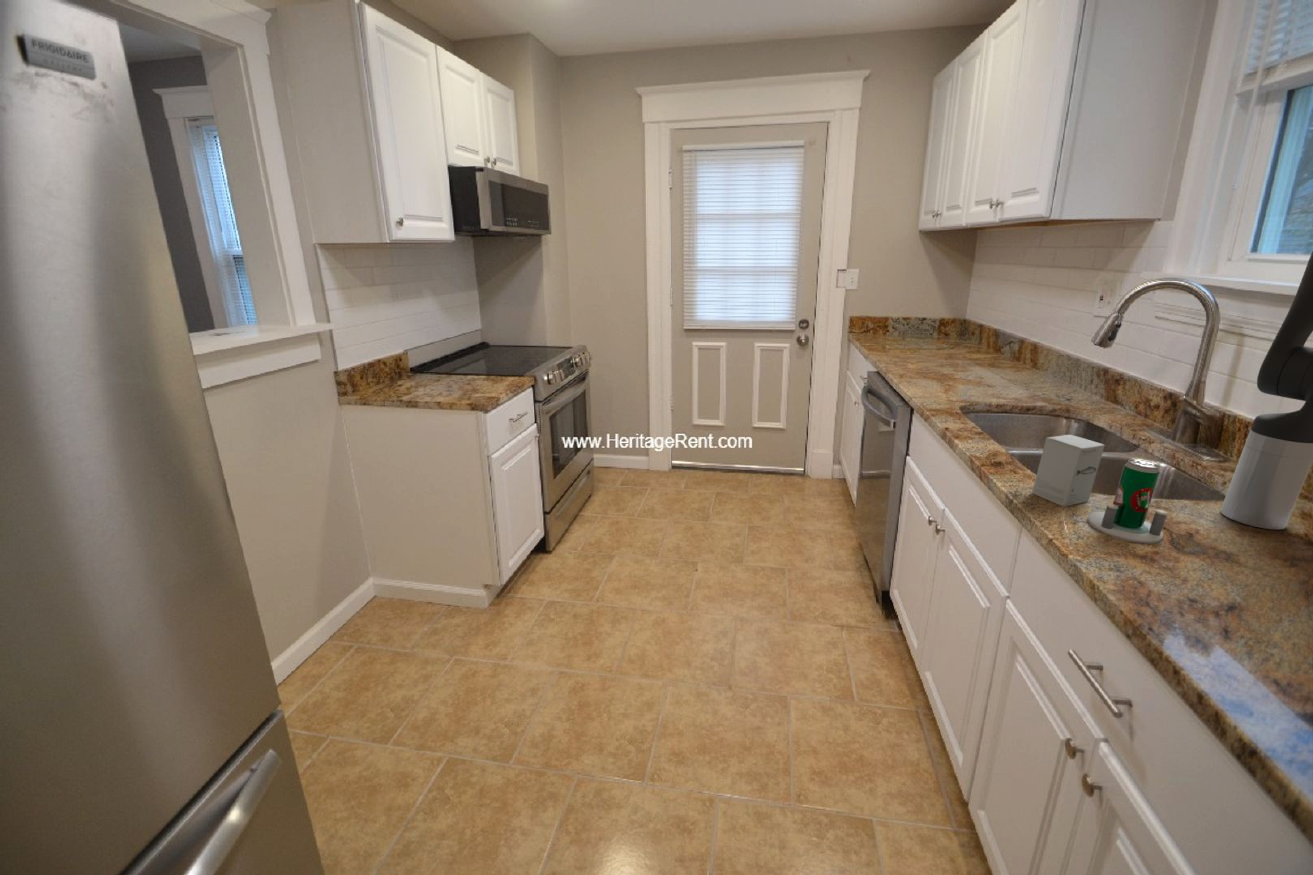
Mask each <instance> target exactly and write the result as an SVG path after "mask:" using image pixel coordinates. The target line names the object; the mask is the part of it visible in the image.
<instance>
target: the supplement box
mask: <svg viewBox="0 0 1313 875" xmlns="http://www.w3.org/2000/svg"><path fill="white" fill-rule="evenodd" d="M1104 449H1105V444H1103V443H1101V442H1097V441H1094V440H1089V439H1087V438H1085V437H1084V438H1083V437H1080V436H1076V435H1073V434H1064V435H1057V436H1056V435H1055V436H1048V437H1045V441H1044V446H1043V450H1042V453H1041V456H1040V457H1041V458H1040V460H1039V463H1038V464H1039V465H1038V469H1037V473H1036V476H1035V480H1034V484H1033V489H1032V492H1031V493H1032V494H1034V495H1035V496H1037V497H1039V498H1042V499H1045V500H1047V501H1050V502H1052V503H1054V504H1057V505H1058V506H1062V507H1069V506H1072V505H1073V506H1074V505H1077V504H1082V503H1088V502H1089V500H1090V496H1091V493H1092V490H1093V486H1094V483H1095V480H1096V475H1097V473H1098V470H1099V467H1100V463H1101V459H1102V456H1103V452H1104Z"/></svg>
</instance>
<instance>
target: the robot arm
mask: <svg viewBox="0 0 1313 875" xmlns="http://www.w3.org/2000/svg"><path fill="white" fill-rule="evenodd" d="M1312 333H1313V250H1312V251H1311V254H1310V256H1309V259H1308V261H1307V264H1306V267H1305V270H1304V272H1303V275H1302V277H1301V281H1300V283H1299V286H1298V288H1297V291H1296V293H1295V296H1294V299H1293V301H1292V303H1291V305H1290V307H1289V310H1288V312H1287V314H1286V316H1285V317H1284V320H1283V322H1282V324H1281V326H1280V328H1279V330H1278V332H1277V334H1276V336H1275V338H1274V340H1273V341H1272V344H1271V345H1270V347H1269V349H1268V351H1267V353H1266V355H1265V357H1264V359H1263V361H1262V363H1261V365H1260V368H1259V371H1258V375H1257V377H1256V378H1257V380H1256V385H1257V386H1256V387H1257V389H1258V391H1259V392H1261V393H1263V394H1265V395H1271V396H1276V397H1281V398H1287V399H1292V400H1296V401H1302V402H1304V404H1303V405H1302V407H1301V408H1300V409H1298V410H1295V411H1291V412H1283V413H1282V412H1281V413H1279V412H1278V413H1265V414H1259V415H1257V416H1256V417H1255V418H1254V419H1253V422H1252V425H1251V427H1250V429H1249V432H1248V434H1247V438H1246V441H1245V444H1244V447H1243V449H1242V452H1241V455H1240V457H1239V460H1238V462H1237V465H1236V468H1235V471H1234V473H1233V476H1232V479H1231V480H1230V481H1231V482H1230V484H1229V486H1228V489H1227V492H1226V494H1225V497H1224V500H1223V503H1222V504H1221V509H1220V513H1221V514H1222V515H1223V516H1225V517H1226V518H1228V519H1230V520H1233V521H1236V522H1238V523H1241V524H1244V525H1248V526H1251V527H1257V528H1261V529H1266V530H1267V529H1268V530H1275V531H1276V530H1284V529H1286V527H1287V525H1288V523H1289V520H1290V519H1291V515H1292V514H1293V510H1294V508H1295V507H1296V506H1295V505H1296V503H1297V501H1298V499H1299V496H1300V493H1301V492H1302V489H1303V487H1304V484H1305V482H1306V479H1307V477H1308V474H1309V472H1310V469H1311V467H1312V465H1313V347H1305V344H1306V342H1307V341H1308V339H1309V337H1310V336H1311V335H1312Z"/></svg>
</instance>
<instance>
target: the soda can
mask: <svg viewBox="0 0 1313 875" xmlns="http://www.w3.org/2000/svg"><path fill="white" fill-rule="evenodd" d="M1159 468H1160V465H1159V464H1157V463H1155V462H1153V461H1150V460H1146V459H1139V458H1130V459H1128V462H1126V463H1125V464H1124V466H1123V468H1122V472H1121V476H1120V478H1119V481H1118V482H1119V483H1118V484H1117V488H1116V492H1115V494H1114V495H1115V496H1114V499H1113V502H1112V504H1115V505H1117V506H1119V507H1118V509H1117V513H1116V516H1115V519H1114V522H1113V523H1115V524H1117V525H1119V526H1122V527H1126V528H1132V529H1136V528H1140V527H1142V526H1143V525H1144V521H1146V518H1147V514H1148V512H1149V508H1150V505H1151V502H1152V499H1153V495H1154V493H1155V490H1156V489H1155V488H1156V487H1157V483H1158V480H1159V477H1160V474H1161V471H1160V469H1159Z"/></svg>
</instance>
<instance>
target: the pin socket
mask: <svg viewBox="0 0 1313 875" xmlns="http://www.w3.org/2000/svg"><path fill="white" fill-rule="evenodd" d="M1118 507H1119V506H1117V505H1115V504H1113V503H1106V508H1105V511H1095V512H1091V513H1090V514H1089V515H1088V519H1087V522H1088V524H1089V525H1090V526H1091V527H1092V528H1094V529H1095V530H1097V531H1099V532H1100V533H1103V534H1105V535H1107V536H1110V537H1113V538H1116V539H1118V540H1122V541H1128V542H1130V543H1131V542H1133V543H1138V544H1157V543H1159V542H1161V541H1162V539H1163V537H1164V532H1163V528H1164V525H1165V522H1166V519H1167V516H1168V514H1169V513H1168V512H1167V511H1165V510H1162V509H1155V511H1154V515H1153V517H1152V521H1151V523H1150V522H1148V521H1146V520H1145V521H1144V525H1143V526H1142V527H1140V528H1136V529H1132V528H1126V527H1122V526H1119V525H1117V524H1115V523H1113V522H1114V519H1115V516H1116V513H1117V509H1118Z"/></svg>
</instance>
